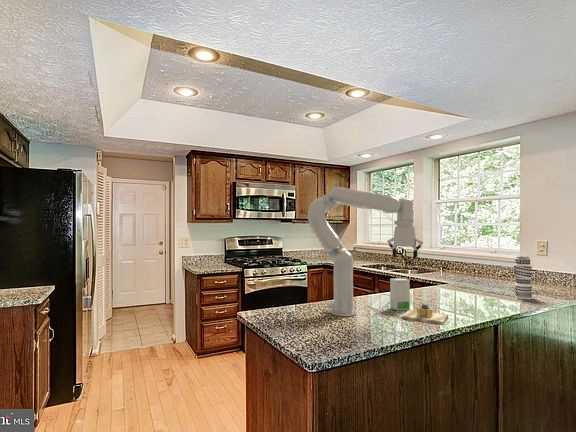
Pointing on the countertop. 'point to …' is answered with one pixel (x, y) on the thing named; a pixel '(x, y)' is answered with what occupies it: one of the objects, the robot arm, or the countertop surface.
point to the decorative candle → (523, 277)
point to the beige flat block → (434, 319)
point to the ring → (424, 312)
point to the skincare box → (400, 294)
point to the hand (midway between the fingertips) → (404, 257)
